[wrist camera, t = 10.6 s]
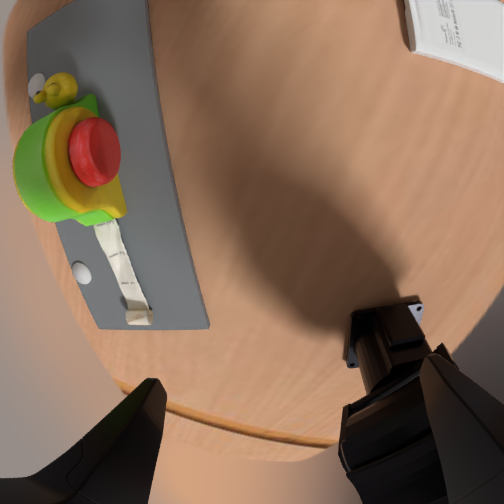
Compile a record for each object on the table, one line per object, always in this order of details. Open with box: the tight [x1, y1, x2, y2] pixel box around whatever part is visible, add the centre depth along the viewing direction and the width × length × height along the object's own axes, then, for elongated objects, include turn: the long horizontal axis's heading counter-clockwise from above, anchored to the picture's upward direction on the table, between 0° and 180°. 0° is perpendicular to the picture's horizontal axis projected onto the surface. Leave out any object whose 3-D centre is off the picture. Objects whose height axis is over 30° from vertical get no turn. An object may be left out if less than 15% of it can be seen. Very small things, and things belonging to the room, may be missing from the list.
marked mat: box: [27, 0, 210, 330], centre depth 17 cm, size 28×11×1 cm, turn 8°
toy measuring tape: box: [13, 72, 153, 325], centre depth 15 cm, size 6×20×7 cm, turn 9°
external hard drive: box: [404, 0, 504, 83], centre depth 10 cm, size 2×8×12 cm
